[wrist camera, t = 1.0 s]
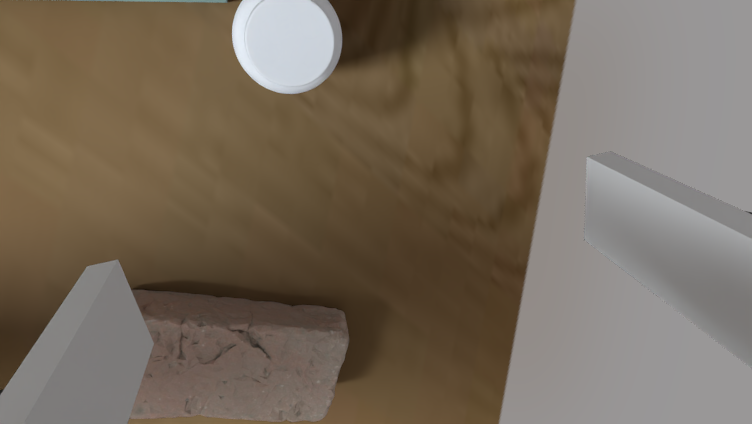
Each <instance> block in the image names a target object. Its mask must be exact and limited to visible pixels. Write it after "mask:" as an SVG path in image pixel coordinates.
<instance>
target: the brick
mask: <svg viewBox="0 0 752 424" xmlns="http://www.w3.org/2000/svg"><path fill="white" fill-rule="evenodd" d="M131 291H132V293H133V296H134V298H135V300H136V303H137V305H138V307H139V310H140V312H141V314H142V317H143V319H144V321H145V324H146V326H147V328H148V331H149V333H150V335H151V338H152V340H153V343H154V345H153V348H152V351H151V354H150V357H149V360H148V363H147V366H146V369H145V372H144V375H143V378H142V381H141V384H140V387H139V390H138V393H137V396H136V399H135V402H134V405H133V408H132V411H131V414H130V417H129V419H152V418H165V417H171V418H175V417H179V416H180V417H191V416H195V415H199V414H200V415H203V416H206V417H217V418H227V419H246V420H259V421H269V422H282V421H285V420H288V421H290V422H298V421H303V420H307V421H312V422H315V421H319V420H321V419H322V418H324V417H325V416H326V414H327V412H328V409H329V407H330V405H331V404H332V399H333V398H334V396H335V386H336V382H337V379H338V374H339V371H340V368H341V366H342V364H343V362H344V360H345V354H346V351H347V348H348V344H349V335H348V327H347V323H346V318H345V313H344V312H343V311H342V310H338V309H337V308H327V307H324V306H314V305H296V306H291V305H286V304H282V303H278V302H272V301H268V302H265V301H251V300H248V299H244V298H230V297H219V298H217V297H215V296H212V295H202V294H190V293H179V292H170V291H147V290H131Z"/></svg>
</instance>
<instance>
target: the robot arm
mask: <svg viewBox="0 0 752 424" xmlns="http://www.w3.org/2000/svg"><path fill="white" fill-rule="evenodd" d="M584 230H585V231H584V240H585V241H586V242H587V243H589V244H590V245H591V246H593V247H594V248H595V249H597V250H598V251H599V252H601V253H602V254H603V255H604V256H606V257H607V258H608V259H610V260H611V261H612V262H613V263H615V264H616V265H617V266H619V267H620V268H621V269H623V270H624V271H625V272H627V273H628V274H629V275H630V276H632V277H633V278H634V279H636V280H637V281H638V282H640V283H641V284H642V285H644V286H645V287H646V288H647V289H649V290H650V291H651V292H653V293H654V294H655V295H656V296H658V297H659V298H660V299H662V300H663V301H664V302H666V303H667V304H668V305H670V306H671V307H672V308H673V309H675V310H676V311H677V312H679V313H680V314H681V315H683V316H684V317H685V318H687V319H688V320H689V321H691V322H692V323H693V324H694V325H696V326H697V327H698V328H699V329H701V330H702V331H704V332H705V333H706V334H707V335H709V336H710V337H711V338H713V339H714V340H715V341H716V342H718V343H719V344H720V345H722V346H723V347H724V348H726V349H727V350H728V351H729V352H731V353H732V354H733V355H735V356H736V357H737V358H739V359H740V360H741V361H743V362H744V363H746V365H748V366H749V367H750V368H752V213H751V212H747V211H743V210H741V209H739V208H736V207H734V206H732V205H730V204H728V203H725V202H723V201H721V200H719V199H716V198H714V197H712V196H710V195H707V194H705V193H703V192H701V191H699V190H696V189H694V188H692V187H690V186H687V185H685V184H683V183H681V182H678V181H676V180H674V179H672V178H669V177H667V176H665V175H663V174H660V173H658V172H656V171H654V170H651V169H649V168H647V167H645V166H643V165H640V164H638V163H636V162H634V161H632V160H629V159H627V158H625V157H622V156H620V155H618V154H616V153H614V152H611V151H610V152H605V153H601V154H597V155H592V156H588V157H587V163H586V196H585V228H584ZM153 345H154V343H153V340H152V338H151V335H150V333H149V331H148V328H147V326H146V324H145V321H144V319H143V317H142V314H141V312H140V310H139V307H138V305H137V303H136V300H135V298H134V296H133V293H132V291H131V289H130V286H129V284H128V282H127V279H126V277H125V275H124V272H123V270H122V268H121V265H120V263H119V261H118V260H114V261H109V262H105V263H100V264H96V265H91V266H87V267H86V269H85V270H84V272H83V273H82V275H81V276H80V278H79V279H78V281H77V282H76V284H75V285H74V287H73V288H72V290H71V291H70V293H69V294H68V296H67V297H66V298H65V300H64V301H63V303H62V304H61V306H60V307H59V309H58V310H57V312H56V313H55V315H54V316H53V318H52V319H51V321H50V322H49V324H48V325H47V327H46V328H45V330H44V331H43V332H42V334H41V335H40V337H39V338H38V340H37V341H36V343H35V344H34V346H33V347H32V349H31V350H30V352H29V353H28V355H27V356H26V358H25V359H24V361H23V362H22V364H21V365H20V366H19V368H18V369H17V371H16V372H15V374H14V375H13V377H12V378H11V380H10V381H9V383H8V384H7V386H6V387H5V389H3V390H0V424H127V423H128V420H129V417H130V414H131V411H132V408H133V405H134V402H135V399H136V396H137V393H138V390H139V387H140V384H141V381H142V378H143V375H144V372H145V369H146V366H147V363H148V360H149V357H150V354H151V351H152V348H153Z"/></svg>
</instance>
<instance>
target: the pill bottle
mask: <svg viewBox="0 0 752 424" xmlns="http://www.w3.org/2000/svg"><path fill="white" fill-rule="evenodd" d="M232 41H233V46H234V50H235V53H236V56H237V58H238V60H239V62H240V64H241V66H242V67H243V69H244V70H245V71H246V72H247V74H248V75H249V76H250V77H251V78H252V79H253V80H255V81H256V82H257V83H258V84H260V85H262V86H263V87H265V88H267V89H269V90H272V91H275V92H279V93H284V94H296V93H302V92H306V91H309V90H311V89H313V88H315V87H317V86H318V85H320V84H321V83H322V82H324V81H325V80H326V79H327V78H328V77H329V76H330V74H331V73H332V72H333V70H334V68H335V67H336V65H337V63H338V60H339V58H340V54H341V49H342V30H341V26H340V22H339V19H338V16H337V14H336V12H335V10H334V8H333V7H332V5H331V4H330V3H329V1H328V0H242V2H241V3H240V5H239V7H238V9H237V11H236V14H235V17H234V21H233V27H232Z"/></svg>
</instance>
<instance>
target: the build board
mask: <svg viewBox="0 0 752 424" xmlns="http://www.w3.org/2000/svg"><path fill="white" fill-rule="evenodd" d="M74 1H150V2H225V3H227V2H228V0H74Z"/></svg>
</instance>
